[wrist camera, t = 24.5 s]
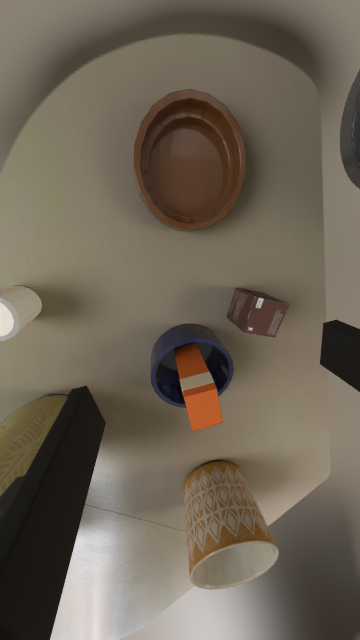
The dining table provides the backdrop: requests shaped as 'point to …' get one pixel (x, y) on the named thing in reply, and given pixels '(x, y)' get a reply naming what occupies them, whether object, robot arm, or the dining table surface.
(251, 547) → the planter
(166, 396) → the pot
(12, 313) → the white cylinder
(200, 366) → the packet
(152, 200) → the bowl
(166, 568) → the dining table surface
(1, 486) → the vase
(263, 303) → the box
